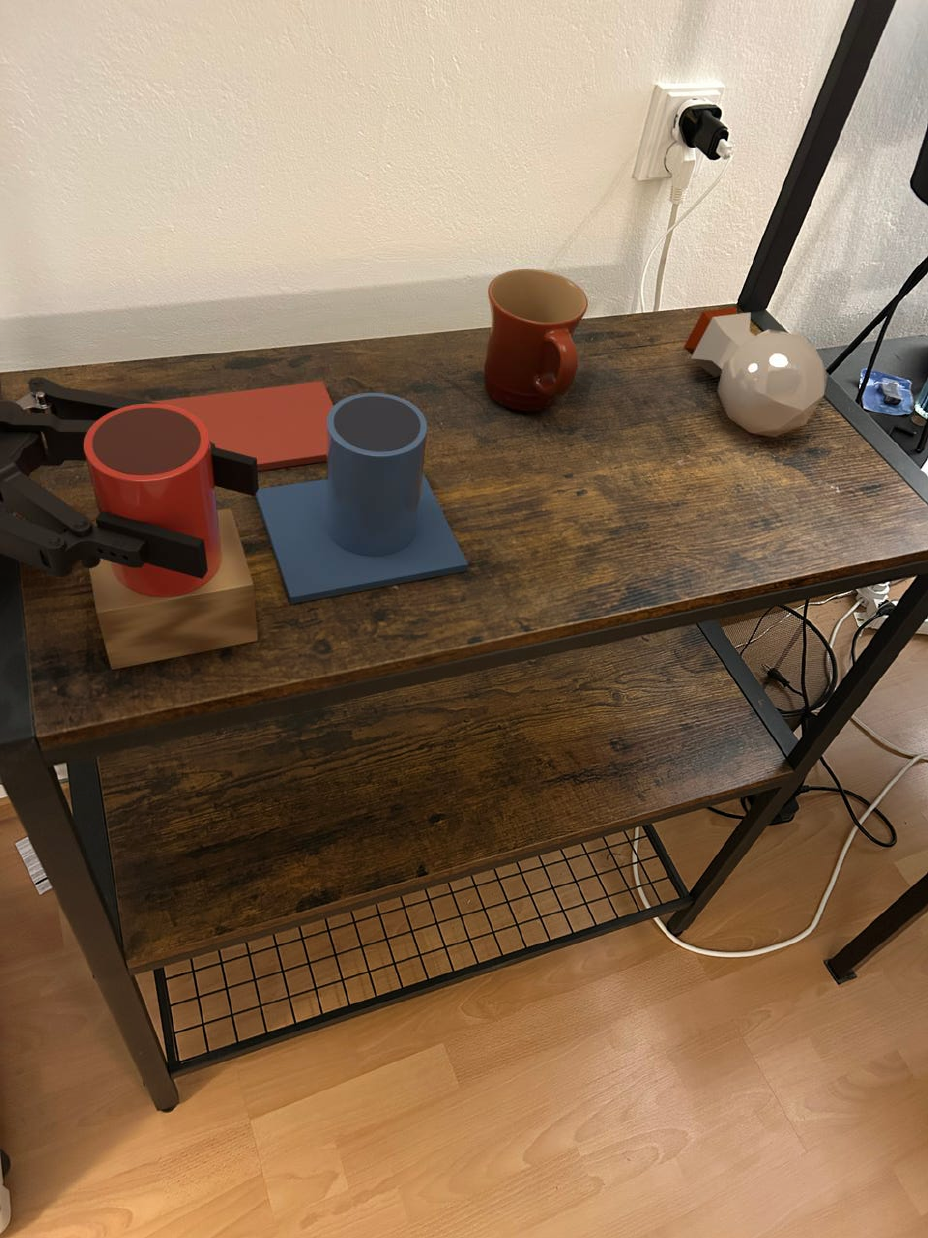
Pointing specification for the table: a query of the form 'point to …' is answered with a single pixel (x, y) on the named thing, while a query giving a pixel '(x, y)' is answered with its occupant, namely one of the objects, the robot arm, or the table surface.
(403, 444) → the blue cup
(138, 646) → the wooden block
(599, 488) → the table surface
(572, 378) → the mug
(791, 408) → the potion bottle
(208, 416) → the red mat
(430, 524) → the blue mat
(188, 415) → the red cup
